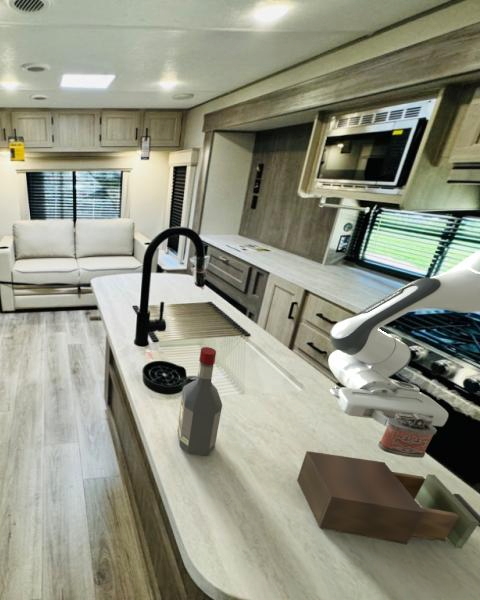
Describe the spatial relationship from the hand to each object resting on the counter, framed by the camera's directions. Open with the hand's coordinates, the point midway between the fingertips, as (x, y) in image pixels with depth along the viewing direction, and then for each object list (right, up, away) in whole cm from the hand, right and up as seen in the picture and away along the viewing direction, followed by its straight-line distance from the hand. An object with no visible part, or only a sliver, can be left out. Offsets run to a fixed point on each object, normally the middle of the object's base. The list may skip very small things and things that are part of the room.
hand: (411, 430), depth 69 cm
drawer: (-3, -18, -2) cm, 18 cm away
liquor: (-41, -12, +19) cm, 47 cm away
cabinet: (-14, -18, +1) cm, 23 cm away
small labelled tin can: (-1, -5, +2) cm, 6 cm away
